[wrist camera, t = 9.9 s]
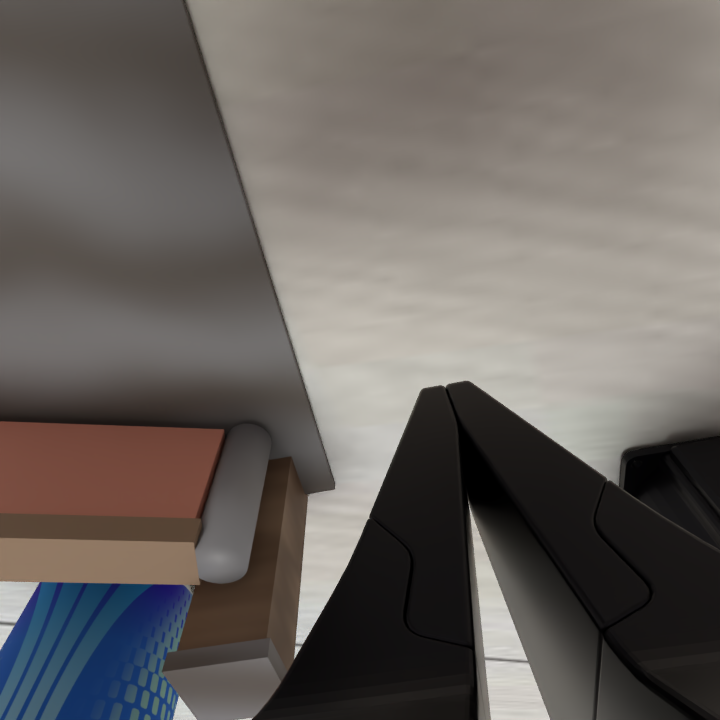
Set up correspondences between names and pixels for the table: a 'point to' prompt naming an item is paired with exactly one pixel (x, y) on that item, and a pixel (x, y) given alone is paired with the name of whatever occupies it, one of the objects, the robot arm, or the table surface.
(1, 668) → the beer can
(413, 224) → the table surface
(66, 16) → the gate frame
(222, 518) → the bar
